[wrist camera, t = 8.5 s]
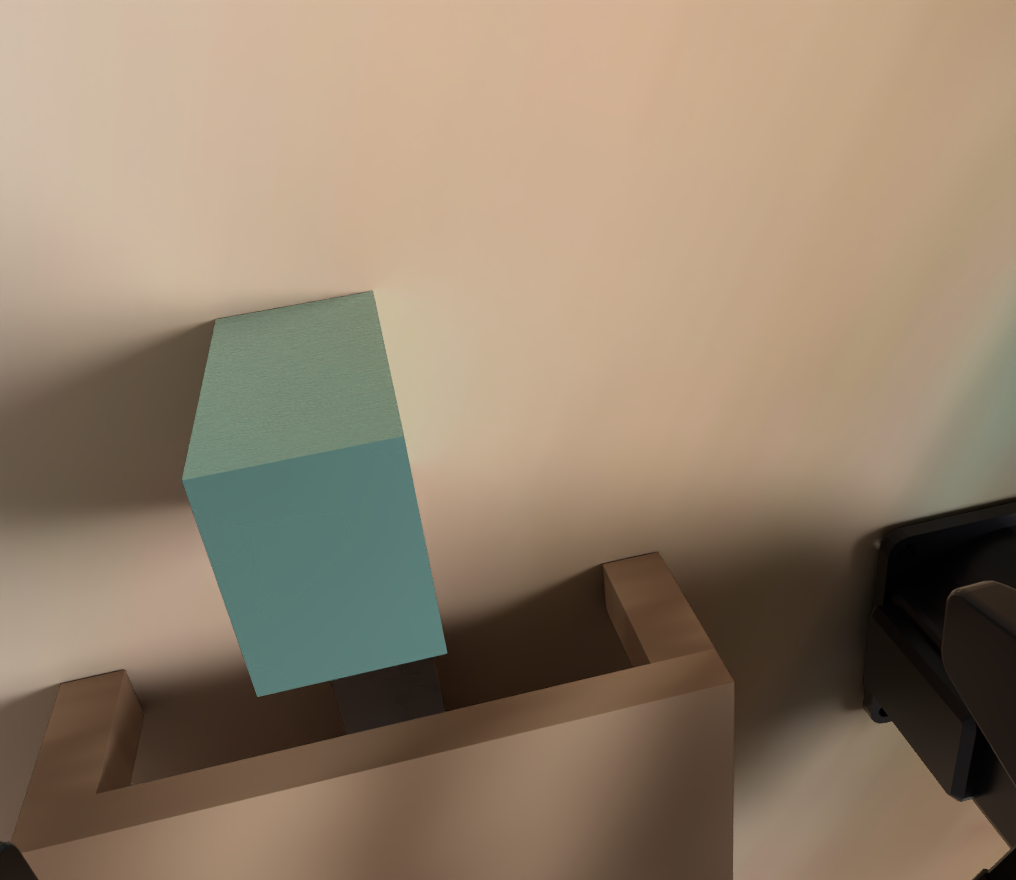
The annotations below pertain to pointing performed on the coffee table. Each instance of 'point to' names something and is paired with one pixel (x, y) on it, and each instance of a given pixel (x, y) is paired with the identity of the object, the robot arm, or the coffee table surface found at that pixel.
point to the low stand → (423, 779)
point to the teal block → (316, 510)
